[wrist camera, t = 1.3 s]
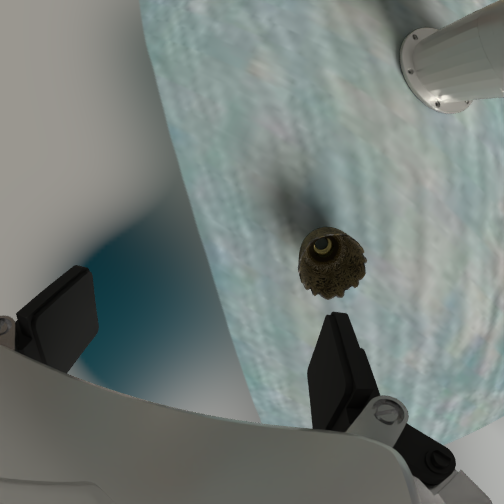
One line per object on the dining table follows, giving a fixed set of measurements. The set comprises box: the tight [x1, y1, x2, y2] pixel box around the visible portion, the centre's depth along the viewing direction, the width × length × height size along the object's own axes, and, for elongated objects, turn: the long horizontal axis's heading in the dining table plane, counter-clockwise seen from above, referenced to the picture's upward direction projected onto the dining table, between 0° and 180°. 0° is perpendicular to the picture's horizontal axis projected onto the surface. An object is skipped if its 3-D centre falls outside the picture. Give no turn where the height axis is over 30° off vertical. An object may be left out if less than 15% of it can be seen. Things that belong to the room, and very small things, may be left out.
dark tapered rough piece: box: [298, 227, 367, 300], centre depth 34 cm, size 8×7×8 cm
